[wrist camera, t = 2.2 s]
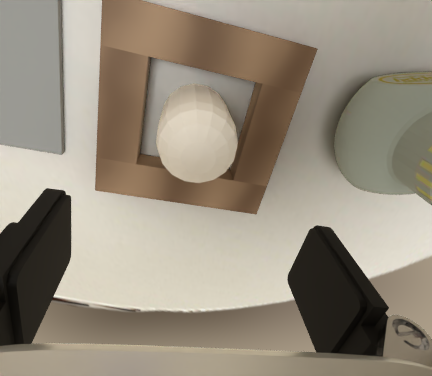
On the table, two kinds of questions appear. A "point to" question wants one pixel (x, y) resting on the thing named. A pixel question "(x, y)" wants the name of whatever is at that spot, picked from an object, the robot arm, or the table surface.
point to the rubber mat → (31, 75)
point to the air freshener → (388, 136)
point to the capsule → (196, 134)
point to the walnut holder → (203, 59)
